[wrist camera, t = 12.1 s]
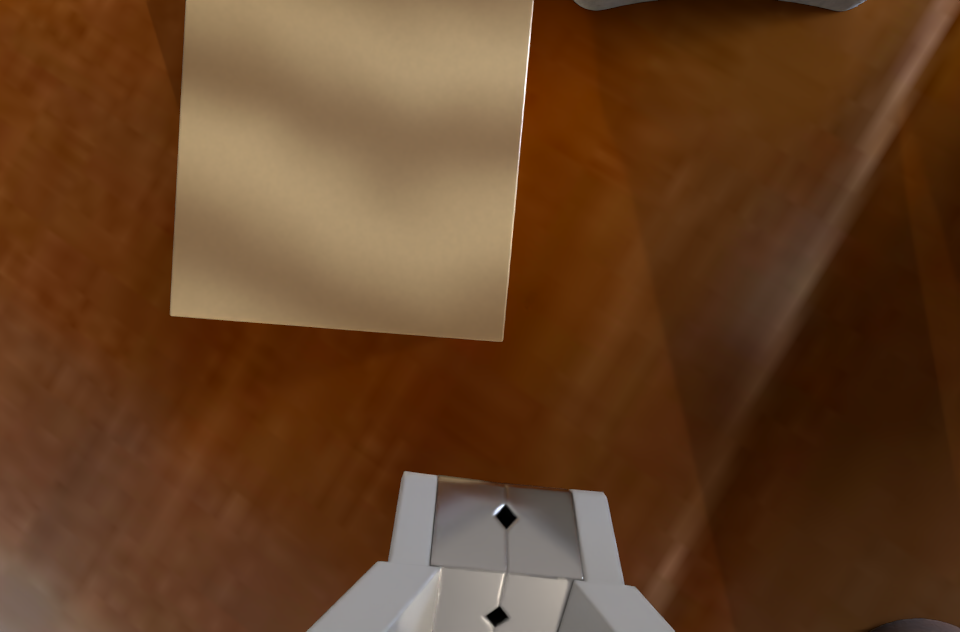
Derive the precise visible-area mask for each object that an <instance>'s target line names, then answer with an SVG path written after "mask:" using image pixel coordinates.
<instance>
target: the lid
mask: <svg viewBox="0 0 960 632" xmlns="http://www.w3.org/2000/svg"><path fill="white" fill-rule="evenodd" d="M533 4H534V0H186V7H185V26H184V46H183V66H182V85H181V105H180V124H179V144H178V164H177V183H176V203H175V222H174V242H173V261H172V281H171V301H170V315H171V316H178V317H191V318H203V319H216V320H229V321H242V322H254V323H267V324H280V325H292V326H305V327H318V328H330V329H343V330H356V331H368V332H381V333H394V334H406V335H419V336H432V337H444V338H457V339H470V340H482V341H495V342H502V341H503V336H504V325H505V314H506V303H507V292H508V281H509V270H510V259H511V248H512V237H513V226H514V215H515V204H516V193H517V181H518V170H519V159H520V148H521V137H522V126H523V115H524V104H525V93H526V82H527V71H528V60H529V49H530V38H531V27H532V15H533Z"/></svg>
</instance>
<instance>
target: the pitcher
mask: <svg viewBox="0 0 960 632" xmlns="http://www.w3.org/2000/svg"><path fill="white" fill-rule="evenodd" d="M870 632H960V628H958V627H956V626H953V625H951V624H948V623H945V622H941V621H937V620H929V619H923V618H919V619H904V620H897V621H894V622H891V623H887V624H884V625H881V626H879V627H877V628H875V629H873V630H871V631H870Z"/></svg>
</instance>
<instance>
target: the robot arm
mask: <svg viewBox="0 0 960 632" xmlns="http://www.w3.org/2000/svg"><path fill="white" fill-rule="evenodd" d="M437 481H438V482H437ZM306 632H675V631H674V629H673V628H672V627H671V626H670V625H669V624H668V623H667V622H666V621H665V619H664V618H663V617H662V616H661V615H660V614H659V613H658V612H657V610H656V609H655V608H654V607H653V606H652V605H651V604H650V603H649V602H648V600H647V599H646V598H645V597H644V596H643V595H642V594H641V593H640V592H639V590H638V589H637V588H636V587H635V586H627V585H625V584H624V579H623V574H622V570H621V565H620V560H619V555H618V550H617V545H616V540H615V535H614V530H613V525H612V520H611V515H610V510H609V506H608V501H607V497H606V496H605V494H604V493H603V492H596V491H585V490H574V489H570V490H568V489H562V488H552V487H542V486H531V485H521V484H510V483H497V482H490V481H482V480H474V479H467V478H459V477H451V476H444V475H439V476H438V478H437V475H430V474H422V473H415V472H408V471H404V473H403V476H402V479H401V485H400V491H399V497H398V503H397V509H396V515H395V522H394V528H393V534H392V540H391V546H390V553H389V559H388V562H383V561H377V562H376V563H375V564H374V565H373V566H372V567H371V568H370V569H369V570H368V571H367V572H366V573H365V574H364V575H363V576H362V577H361V578H360V579H359V580H358V581H357V582H356V583H355V584H354V585H353V586H352V587H351V588H350V589H349V590H348V591H347V592H346V593H345V594H344V595H343V596H342V597H341V598H340V599H339V600H338V601H337V602H336V603H335V604H334V605H333V606H332V607H331V608H330V609H329V610H328V611H327V612H326V613H325V614H324V615H323V616H322V617H321V618H320V619H319V620H318V621H316V622H315V623H314V624H313V625H312V626H311V627H310V628H309V629H308V630H307V631H306Z"/></svg>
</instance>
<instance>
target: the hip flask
mask: <svg viewBox="0 0 960 632" xmlns="http://www.w3.org/2000/svg"><path fill="white" fill-rule="evenodd" d="M648 1H656V0H574V2H576V3H577V4H578V5H579V6H581V7H583V8H585V9H589V10H596V11H598V10H605V9H609V8H614V7H618V6H623V5H629V4H634V3H640V2H648ZM780 1H787V2H795V3H801V4H806V5H812V6H817V7H821V8H826V9H830V10H834V11H846V10H850V9H852V8H854V7H856V6H858V5H859V4H861V3H863V2H864V1H866V0H780Z"/></svg>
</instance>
